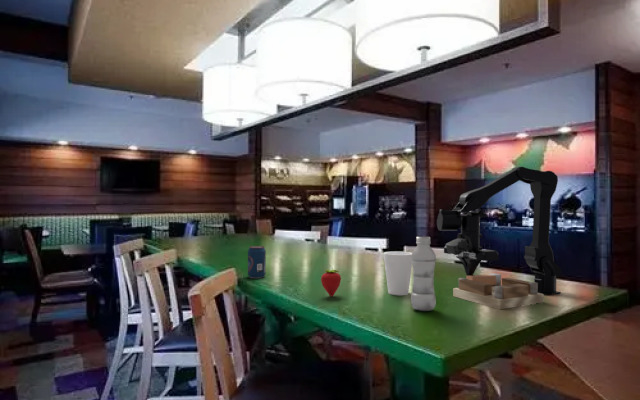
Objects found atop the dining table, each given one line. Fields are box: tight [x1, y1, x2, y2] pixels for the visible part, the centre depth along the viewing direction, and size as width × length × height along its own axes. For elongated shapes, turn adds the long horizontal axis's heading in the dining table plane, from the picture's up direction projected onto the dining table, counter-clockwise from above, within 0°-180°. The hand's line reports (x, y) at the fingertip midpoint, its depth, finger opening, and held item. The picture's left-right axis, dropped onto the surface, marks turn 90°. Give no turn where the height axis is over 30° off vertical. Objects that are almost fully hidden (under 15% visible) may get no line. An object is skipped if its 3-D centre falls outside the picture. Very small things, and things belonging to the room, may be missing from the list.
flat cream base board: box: [452, 277, 545, 310], centre depth 128 cm, size 18×18×6 cm
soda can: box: [247, 245, 267, 279], centre depth 166 cm, size 7×7×12 cm
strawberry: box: [320, 263, 342, 297], centre depth 132 cm, size 6×8×10 cm
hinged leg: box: [465, 273, 502, 285], centre depth 136 cm, size 12×4×3 cm, turn 108°
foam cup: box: [383, 251, 413, 296], centre depth 137 cm, size 10×9×13 cm
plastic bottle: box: [410, 236, 437, 312], centre depth 115 cm, size 6×7×20 cm
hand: (469, 278), depth 137 cm, fingers closed
